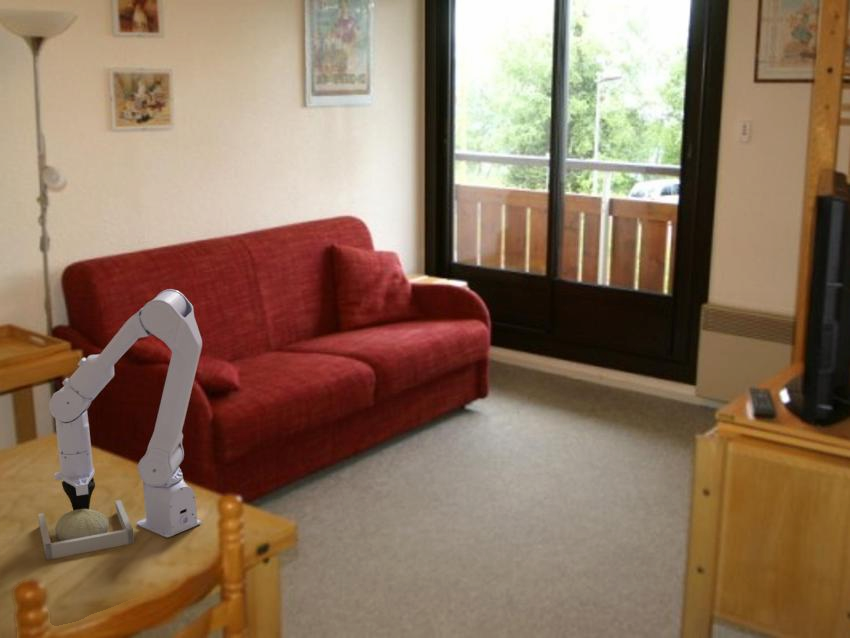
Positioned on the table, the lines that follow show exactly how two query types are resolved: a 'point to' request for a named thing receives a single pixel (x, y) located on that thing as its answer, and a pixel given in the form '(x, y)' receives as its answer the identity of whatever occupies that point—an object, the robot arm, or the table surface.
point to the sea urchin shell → (81, 524)
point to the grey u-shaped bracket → (88, 538)
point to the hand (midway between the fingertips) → (81, 517)
